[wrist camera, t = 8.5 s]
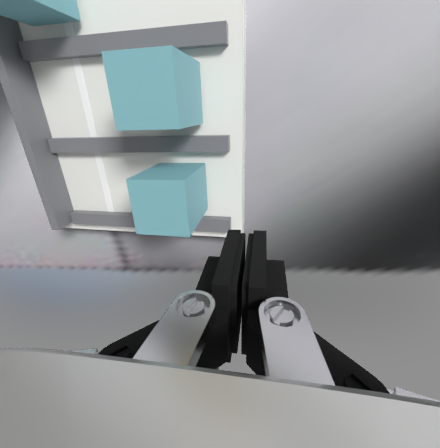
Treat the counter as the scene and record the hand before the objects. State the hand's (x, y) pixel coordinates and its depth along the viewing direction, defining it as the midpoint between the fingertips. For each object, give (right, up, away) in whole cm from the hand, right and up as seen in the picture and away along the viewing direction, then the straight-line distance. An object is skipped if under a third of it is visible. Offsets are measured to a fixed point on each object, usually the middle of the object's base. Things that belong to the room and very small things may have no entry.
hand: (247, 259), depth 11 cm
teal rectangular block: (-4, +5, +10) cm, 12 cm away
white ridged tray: (-9, +13, +11) cm, 19 cm away
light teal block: (-5, +11, +8) cm, 14 cm away
